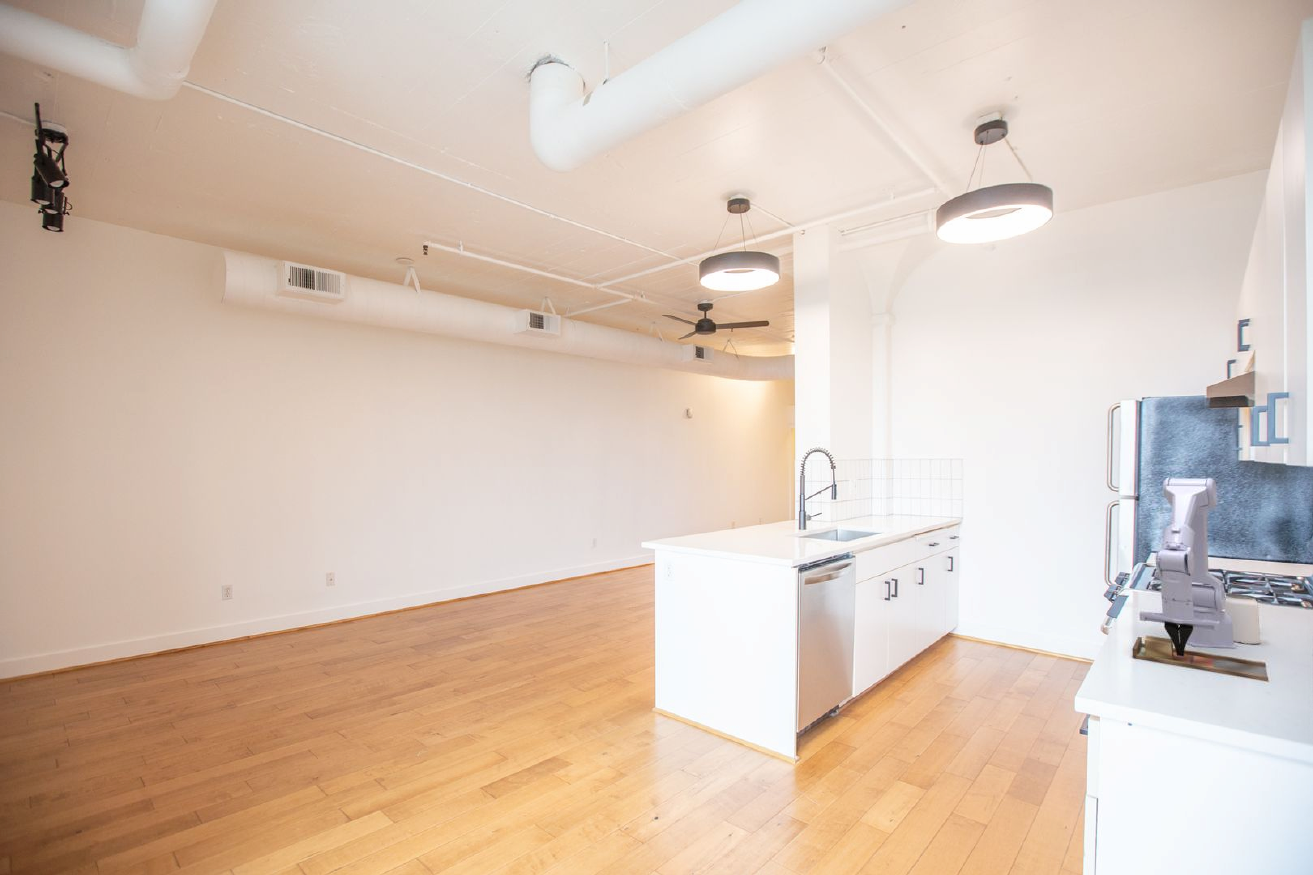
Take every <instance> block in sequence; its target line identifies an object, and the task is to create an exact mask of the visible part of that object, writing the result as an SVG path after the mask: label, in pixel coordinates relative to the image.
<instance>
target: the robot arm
mask: <svg viewBox="0 0 1313 875" xmlns="http://www.w3.org/2000/svg"><path fill="white" fill-rule="evenodd" d="M1162 487H1163V488H1162V489H1163V490H1162V491H1163V496H1164V498H1165V499H1166V500H1167V503H1168V504H1169V505H1170V506H1171V524H1170V525H1167V526H1166V527H1165V528H1164V531H1163V532H1164V533H1163V536H1162V537H1163V538H1162V543H1161V548H1160V550H1157V551H1156V554H1155V566H1156V567H1155V568H1156V570H1157V575H1158V576H1157V577H1158V580H1160V591H1161V593H1160V594H1161V606H1162V607H1161V608H1162V610H1161V611H1162V612H1151V611H1149V612H1148V611H1142V610H1141V611H1139V612H1138V614H1139V621H1143V622H1146V621H1148V622H1153V623H1161V624H1164V625H1163V627H1164V629H1165V632H1166V633H1167V634H1168V636H1169V639H1171V640H1172V642H1173V647H1174V648H1175V649H1176V653H1177V655H1178V656H1184V650H1186V649H1185V648H1186V645H1187V644H1188V645H1190V646H1192V647H1197V648H1219V649H1220V648H1221V649H1222V648H1223V649H1237V646H1236V645H1235V644H1234V643H1235V642H1234V638H1233V624H1232V620H1231V618H1230V616H1229V615H1228V614H1227V613H1226V612H1225V610H1224V608H1225V603H1226V591H1225V587H1224V583H1223V581H1221V579H1219V578H1218V577H1216V576H1214V575H1213V574H1211V573H1210V572H1209V552H1208V549H1209V548H1208V547H1209V546H1208V544H1209V543H1208V524H1207V523H1208V521H1207V519H1208V514H1209V512H1210V511H1213V510H1216V509H1217V506H1218V491H1217V484H1216V481H1215V480H1214V479H1213V478H1212V477H1208V478H1173V477H1172V478H1171V477H1167V478H1166V479H1164V481H1163V486H1162ZM1196 583H1197V584H1196Z"/></svg>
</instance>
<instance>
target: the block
mask: <svg viewBox="0 0 1313 875" xmlns="http://www.w3.org/2000/svg"><path fill="white" fill-rule="evenodd" d="M1144 637H1145V638H1144V644H1145V656H1149V657H1155V658H1161V659H1167V660H1172V659H1173V656H1174V655H1173V648H1174V644H1173V642H1172V640H1171V638H1167V637H1159V636H1152V635H1146V636H1144Z"/></svg>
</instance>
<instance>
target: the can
mask: <svg viewBox="0 0 1313 875" xmlns="http://www.w3.org/2000/svg"><path fill="white" fill-rule="evenodd" d="M1225 598H1226V603H1225V608H1224V609H1223V611H1224V612H1226V613H1227V614H1228V615H1229V616H1230V618H1231V620H1232V624H1233V638H1234V643H1237V642H1241V643H1240V644H1243V643H1248V644H1247V645H1259V644H1260V643H1261V628H1260V627H1261V626H1260V614H1259V613H1260V612H1259V604H1258V601H1257V600H1256V597H1255V596H1253V595H1248V594H1242V593H1225Z"/></svg>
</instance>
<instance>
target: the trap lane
mask: <svg viewBox="0 0 1313 875" xmlns="http://www.w3.org/2000/svg"><path fill="white" fill-rule="evenodd" d="M1136 638H1137V639H1136V641H1135V642H1134V645H1133V647H1132V658H1133V659H1134V660H1135V659H1136V660H1140V661H1147V662H1152V663H1159V664H1164V665H1170V666H1176V667H1182V668H1186V669H1187V668H1189V669H1193V670H1200V671H1205V672H1210V673H1216V674H1217V673H1218V674H1221V675H1222V674H1223V675H1228V676H1234V677H1239V678H1245V679H1249V680H1250V679H1251V680H1256V681H1262V682H1269V676H1268V672H1267V667H1266V666H1267V665H1266V662H1265V661H1257V660H1251V659H1245V658H1238V657H1232V656H1225V655H1220V654H1213V653H1206V652H1202V651H1195V650H1194V651H1193V650H1189V649H1184V656H1178V655H1177V653H1176V649H1175V647H1173V655H1174V656H1173V659H1172V660H1167V659H1161V658H1155V657H1149V656H1145V642H1143V637H1141V636H1137V637H1136Z"/></svg>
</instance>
